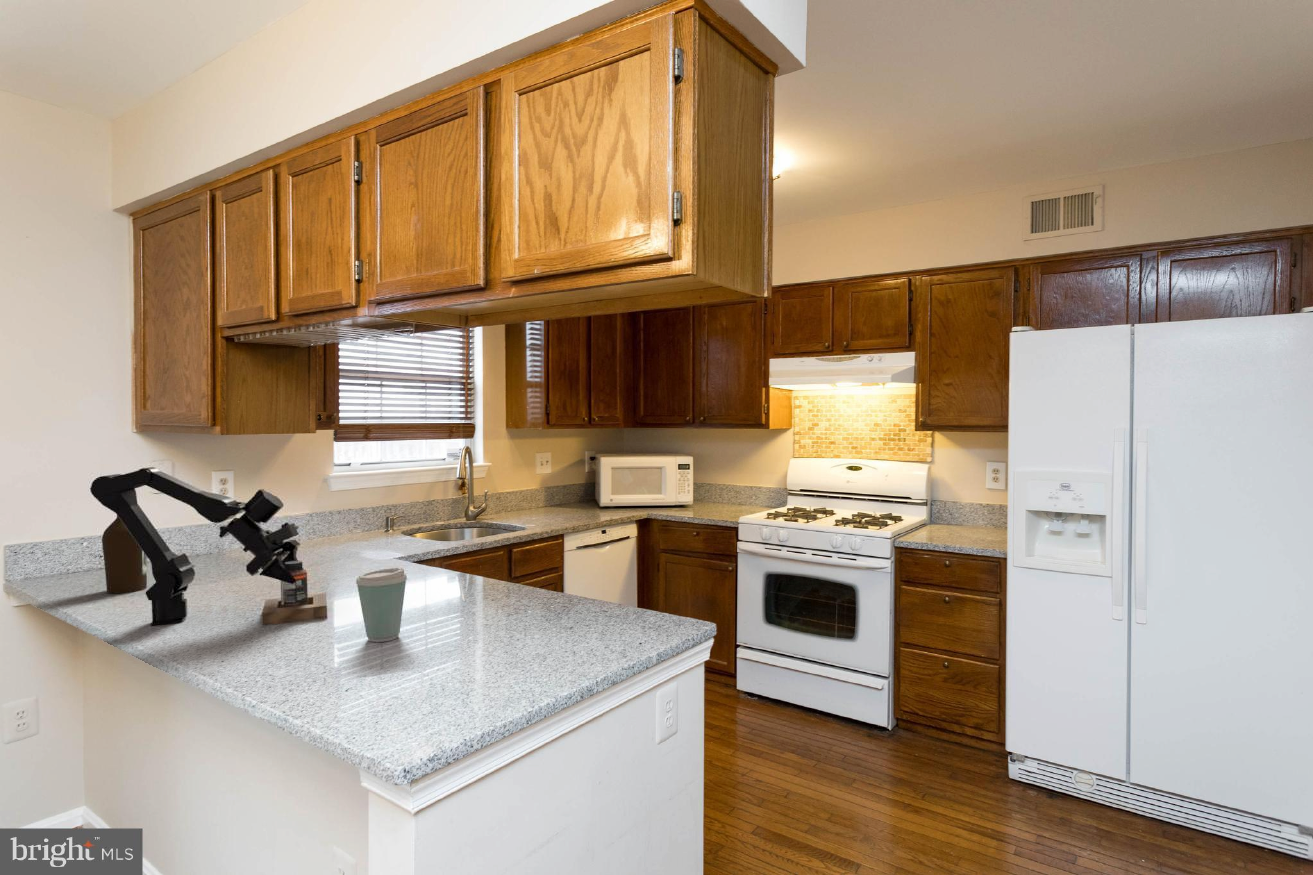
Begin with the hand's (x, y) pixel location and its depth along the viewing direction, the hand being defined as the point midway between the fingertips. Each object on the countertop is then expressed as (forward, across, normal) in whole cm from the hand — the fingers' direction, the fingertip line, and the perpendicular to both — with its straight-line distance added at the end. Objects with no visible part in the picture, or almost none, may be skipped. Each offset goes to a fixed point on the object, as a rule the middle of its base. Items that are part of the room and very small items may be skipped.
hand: (299, 579), depth 180 cm
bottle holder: (+5, 0, +7) cm, 9 cm away
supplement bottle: (+4, 0, +6) cm, 7 cm away
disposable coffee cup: (+25, -23, -13) cm, 36 cm away
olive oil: (-37, +35, +50) cm, 72 cm away
